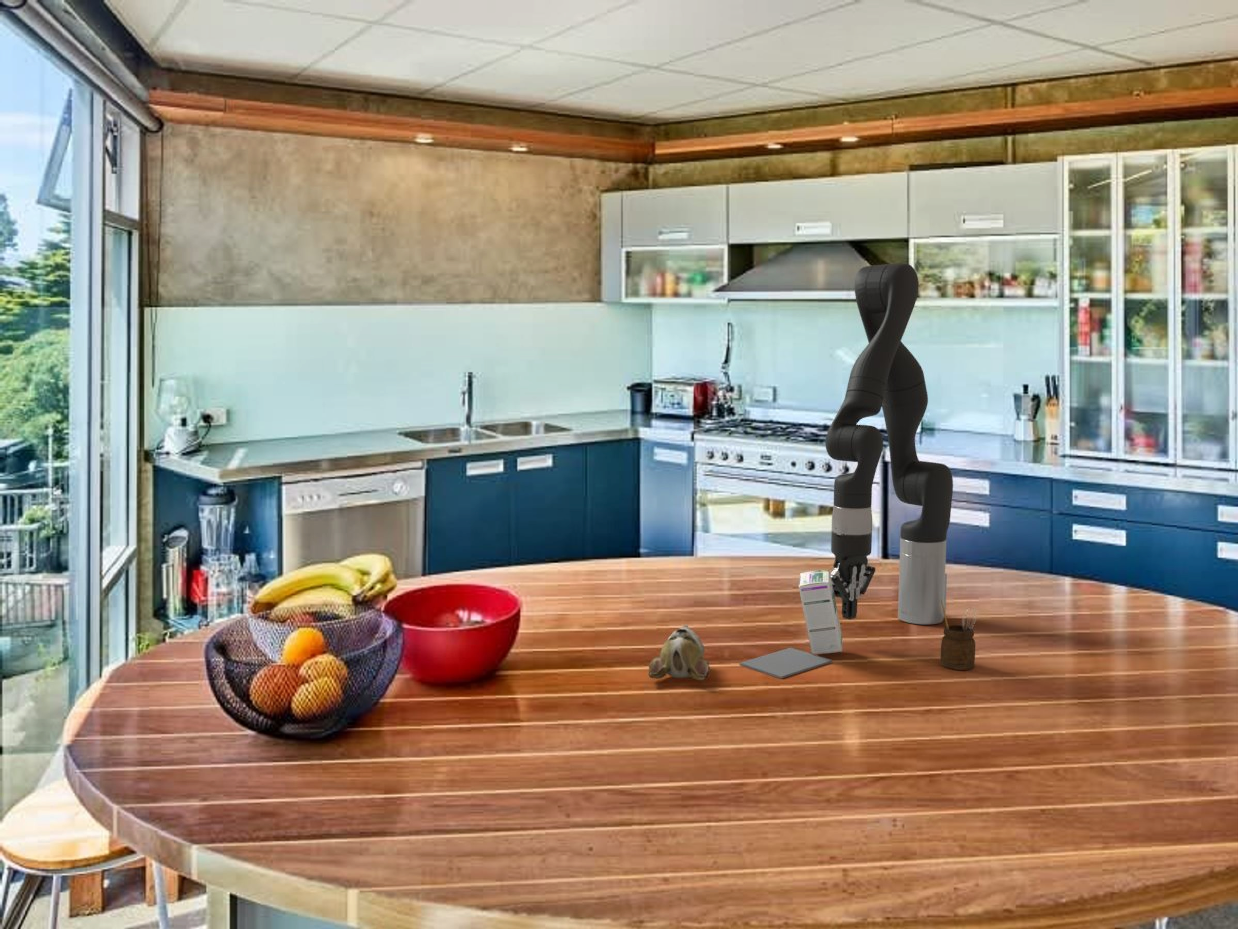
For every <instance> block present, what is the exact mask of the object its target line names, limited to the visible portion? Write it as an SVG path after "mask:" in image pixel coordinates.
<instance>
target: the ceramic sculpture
mask: <svg viewBox="0 0 1238 929" xmlns="http://www.w3.org/2000/svg"><path fill="white" fill-rule="evenodd" d="M705 650H706V647H705V645H704V643H703V642H702V640H701V638H700V636H698V635H697V633H696V632H695V631H694V630H692V628H690V627H689V626H688V625H687V624H686V623H685V624H683V625H682V627H680V628H678V629H676V630H674V631H672V633H671V635H670V636H669V637H668V638H667V640H666V641H665V642H664V643H663V645H662V648H661V650H660V654H659V655H658V656H655V657H654V658H652V659H651V662H650V663H649V665H648V677H649V678H650V679H657V680H659V679H663V678H665V676H667V675H668V676H670V677H671V678H672V677H673V678H676V679H687V678H690V677H691V678H693V680H696V681H700V682H701V681H704V680H706V679H707V678H708V677H709V673H710V665H709V664H710V663H709V661H708V660H707V659H706V658H704V654H705Z"/></svg>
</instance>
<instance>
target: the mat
mask: <svg viewBox="0 0 1238 929" xmlns="http://www.w3.org/2000/svg"><path fill="white" fill-rule="evenodd" d="M831 663H833V660H832V659H830V658H826V657H824V656H819V655H818V654H812V653H810V652H807V651H804V650H800V649H796V648H793V647H788V648H786V649H785V648H784V649H780V650H779V651H775V652H772V653H771V652H770V653H768V654H765V655H761V656H758V657H754V658H752V659H748V660H744V661H741V662H739V665H740V666H742V667H745V668H748V669H750V670H754V671H756V672H759V673H762V674H765V675H769V676H772V677H773V678H778V679H784V678H787V677H792V676H794V675H797V674H800V673H803V672H806V671H807V672H808V671H810V670H812V669H815V668H818V667H822V666H825V665H828V664H831Z"/></svg>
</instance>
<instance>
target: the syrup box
mask: <svg viewBox="0 0 1238 929" xmlns="http://www.w3.org/2000/svg"><path fill="white" fill-rule="evenodd" d="M830 574H831V571H830V569H820V570H818V569H817V570H809V571H806V572H800V574H799V578H798V579H799V580H798V589H799V591H798V592H799V595H800V600H801V605H802V610H803V616H804V621H805V626H806V630H807V635H808V636H807V637H808V641H809V646H810V651H811V654H813V655H822V654H831V653H839V652H841V653H842V651H843V632H842V628H841V624H840V617H839V612H838V608H837V606H838V605H837V601H836V597H835V596H834V591H833V586H832V580H831V575H830Z"/></svg>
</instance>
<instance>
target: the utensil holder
mask: <svg viewBox="0 0 1238 929" xmlns="http://www.w3.org/2000/svg"><path fill="white" fill-rule="evenodd" d="M941 604H942V609H943V614H944V618H943V619H944V620H945V625H946V626H944V629H943V636H942V638H941V644H940V664H941V666H943V667H945V668H947V669H950V670H953V671H968V670H971V669H973V668H974V667H975V662H976V661H975V660H976V641H975V639H974V636H975V631H974V628H973V627H974V626H972V625H970V626H969V625H965V619H966V618H967V619H969V617H970V616H972V615H974V617H970V619H969V620H971V619H972V618H973V619H972V621H969V620H967V623H968V624H970V622H972V623H976V621H977V620H976V619H977V618H978V616H977V615H976V614H977V613H978V612H977V610H976V609H975V608H973V610H974V614H973V613H971V612H969V609H972V606H971V607H969V606H968V608H965V610H964V611H963V615H962V616H963V617H962V619H961V620H962V624H948V619H947V614H945V610H944V606H943V603H942V600H941ZM968 612H969V614H968ZM967 614H968V615H970V616H968V617H966V616H967ZM965 615H966V616H965ZM968 621H969V622H968ZM971 626H972V627H971Z"/></svg>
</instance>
